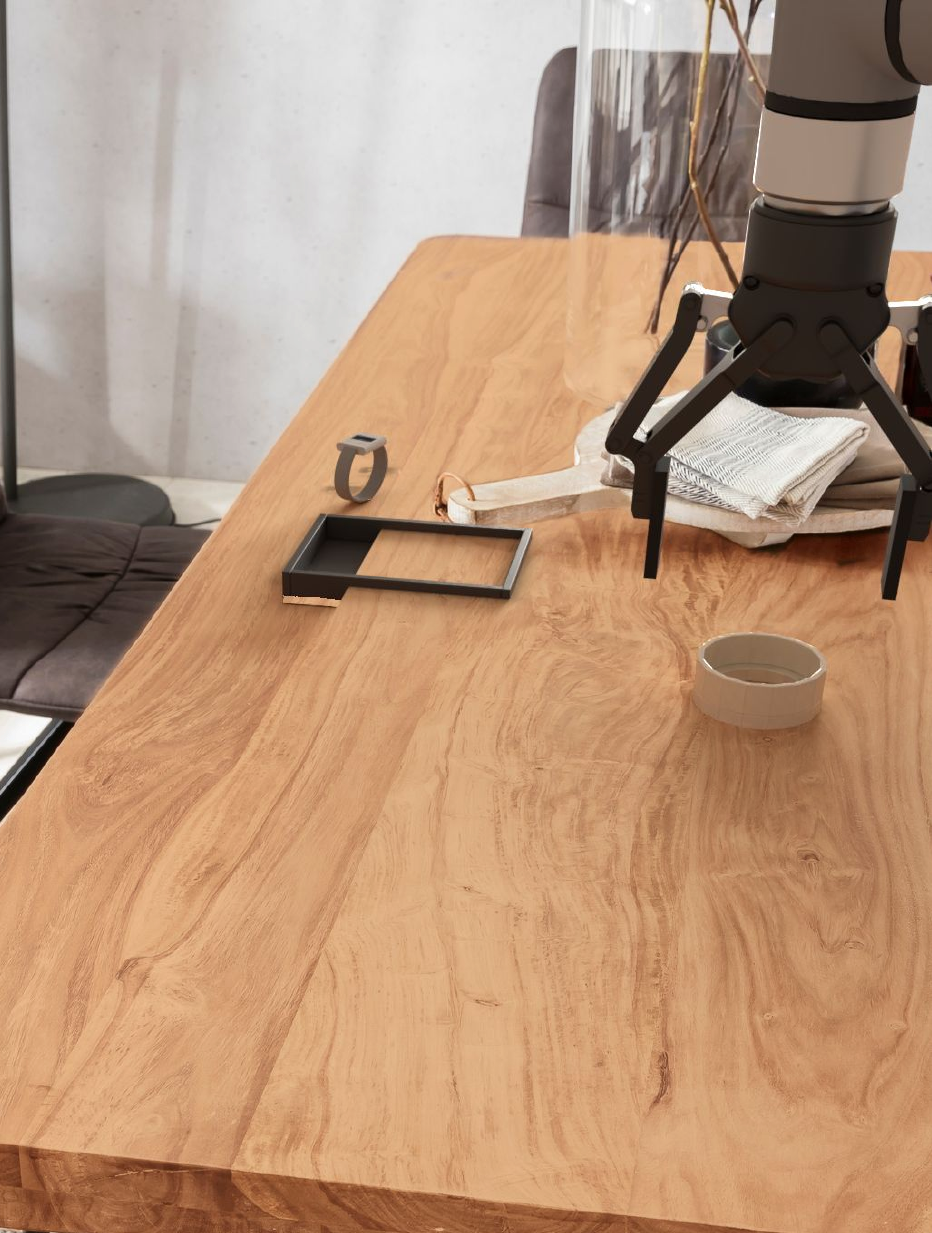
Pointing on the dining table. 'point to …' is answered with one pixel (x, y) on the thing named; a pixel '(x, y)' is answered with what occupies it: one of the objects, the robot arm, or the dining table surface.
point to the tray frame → (347, 539)
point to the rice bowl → (765, 660)
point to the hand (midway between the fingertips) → (768, 581)
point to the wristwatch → (349, 448)
